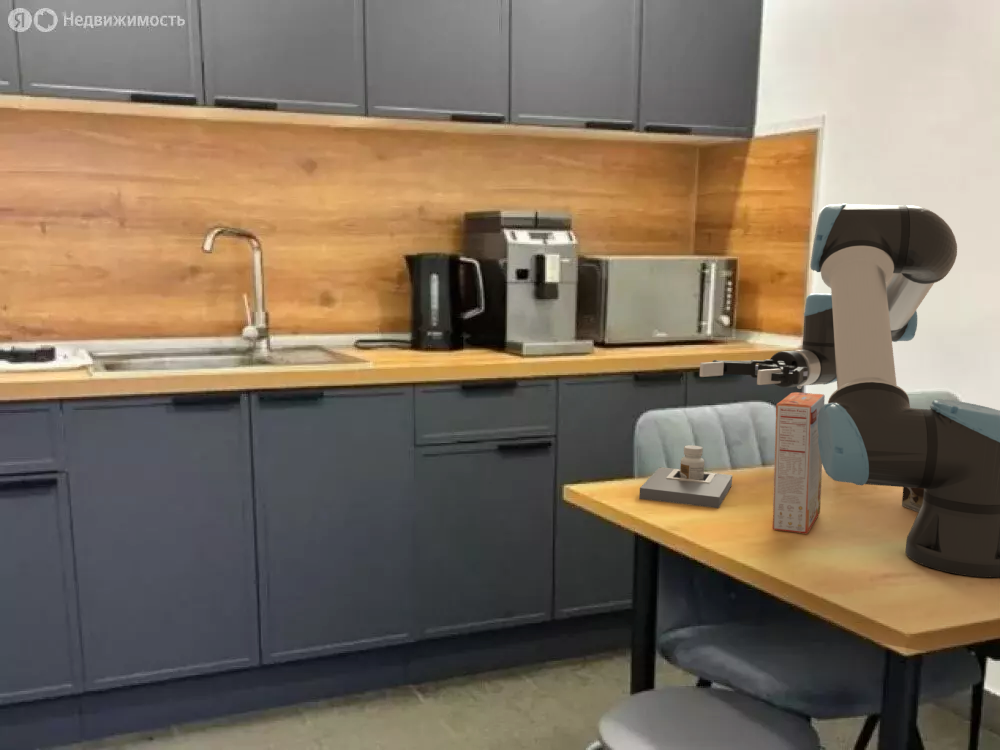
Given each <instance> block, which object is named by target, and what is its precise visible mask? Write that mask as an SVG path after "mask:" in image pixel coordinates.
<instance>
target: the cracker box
mask: <svg viewBox="0 0 1000 750" xmlns="http://www.w3.org/2000/svg"><path fill="white" fill-rule="evenodd" d="M825 395H826V394H823V393H822V394H821V393H811V392H810V393H809V392H797V391H795V392H791V393H789V394H788V395H787V396H785V397H784V398H783V399H782V400H780V401H779V402H777V403H776V405H775V429H774V430H775V433H774V434H775V437H774V466H773V468H774V469H773V472H774V473H773V493H772V494H773V497H772V498H773V499H772V502H773V503H772V530H773V531H778V532H788V533H789V532H790V533H797V534H803V535H805V534H806V535H808V533H810V530H811V529H812V527H813V526H814V524H815V522H816V520H817V519H818V516H820V513H821V500H822V499H821V498H822V477H823V476H822V473H823V472H822V471H823V469H822V468H823V465H822V461H821V457H820V452H819V445H818V437H819V434H818V416H819V412H820V409H821V407H822V406H823V405H824V404H825V398H826V397H825Z"/></svg>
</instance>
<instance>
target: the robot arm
mask: <svg viewBox="0 0 1000 750" xmlns="http://www.w3.org/2000/svg"><path fill="white" fill-rule="evenodd" d="M817 217H818V218H817V223H816V227H815V228H816V229H815V234H814V239H813V244H812V245H813V246H812V249H811V250H812V251H811V257H810V258H811V259H810V269H811V271H814V272H816V273H820V275H821V279H822V282H823V283H824V285H826V286H827V287H828V288H830V290H831V293H820V292H819V293H818V292H817V293H816V292H814V293H813V292H812V293H809V294H808V295H807V297H806V299H805V308H804V313H803V330H802V331H803V334H802V335H803V336H802V345H801V346H802V347H801V349H795V350H794V349H793V350H781V351H778V352H776V353H774V354H772V356H771V357H770V359H763V360H755V359H752V360H717V359H714V360H712V362H710V361H709V362H700V363H699V377H700V378H704V377H707V378H708V377H716V378H721V376H724V375H743V376H750V377H751V378H756V386H757V385H759V386H762V385H772V384H774V385H775V386H777V387H779V388H783V389H785V388H786V389H787V388H794V387H796V388H797V389H799V390H800V389H802V387H803V386H813V385H817V386H818V385H828V384H833V383H836V388H837V389H836V390H834V391H833V392H832V393H831V395H830V396H829V398H828V400H827V403H824V405H823V406H822V407H821V409H820V412H819V416H818V434H819V437H818V445H819V452H820V457H821V461H822V468H823V470H824V473H825V474H826V475H827V476H828V477H829V478H830V479H832V480H833V481H834V482H835V481H836V482H841V483H847V484H854V485H857V486H864V485H869V486H870V485H871V486H883V487H897V488H898V487H899V488H903V487H910V488H924V496H923V504H922V507H921V509H920V511H919V512H917V516H916V518H915V520H914V522H913V523H912V527H911V528H910V530H909V533H908V535H907V537H906V544H905V554H906V556H907V557H909V558H910V559H911V560H913V561H914V562H916V563H917V564H920V565H923V566H926V567H928V568H931V569H934V570H938V571H942V572H946V573H951V574H956V575H963V576H969V577H979V578H1000V410H999V409H995V408H992V407H988V406H986V405H985V406H984V405H980V404H975V403H971V402H965V401H959V400H953V399H942V398H936V399H933V400H932V401H931V403H930V405H929V409H928V408H927V409H924V408H913V407H911V406H910V398H909V395H908V393H907V392H906V391H905V389H903V388H901V387H900V386H898V385H897V377H896V375H897V374H896V370H895V369H896V368H895V367H896V365H895V359H894V358H895V357H894V350H893V348H894V347H893V342H895V343H897V342H909V341H911V340H913V339H914V338H915V335H916V332H917V330H918V329H917V327H918V313H917V309H918V308H919V306H920V305H921V304H922V302H923V300H924V299H925V298H926V296H927V295H928V293H929V292H930V290H931V289H932V287H933V286H934V284H935V283H938V282H940V281H942V280H944V279H945V277H946V276H947V275H948V274H949V273H950V272H951V270H952V269H953V266H954V265H955V262H956V259H957V255H958V244H957V241H956V236H955V234H954V231H953V230H952V228H951V227H950V226H949V224H948V223H947V222H946V221H945V219H943V218H942V217H941V216H940V215H938V214H937V213H935V212H934V211H932V210H930V209H927V208H925V207H921V206H917V205H910V204H909V205H908V204H907V205H906V204H905V205H896V204H895V205H894V204H893V205H891V204H858V203H857V204H856V203H854V204H853V203H851V204H850V203H846V202H844V203H842V204H841V203H838V204H827V205H826V206H823V207H822V208H821V209H820V211H819V214H818V216H817ZM756 371H757V374H756Z"/></svg>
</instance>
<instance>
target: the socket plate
mask: <svg viewBox="0 0 1000 750" xmlns="http://www.w3.org/2000/svg"><path fill="white" fill-rule="evenodd" d="M731 485H732V486H733V474H727V473H716V472H709V471H708V472H707V471H704V480H703V481H702V480H693V479H684V478H680V469H679V468H671V467H670V468H669V467H662V466H661V467H660V466H659V467H658V469H656V470H655V471H654V473H653V474H651V476H649V478H648V479H646V481H645V482H644V483H643V484H642V485H641V486H640V487H639V495H638V496H639V500H648V501H653V502H654V501H656V502H664V503H672V504H681V505H687V506H697V507H704V508H705V507H706V508H712V509H713V508H714V509H719V508H720V507H721V505H722V503H723V502H724V500H725V498H726V496H727V494H728V492H730V489H731V488H730V487H732V486H731Z"/></svg>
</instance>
